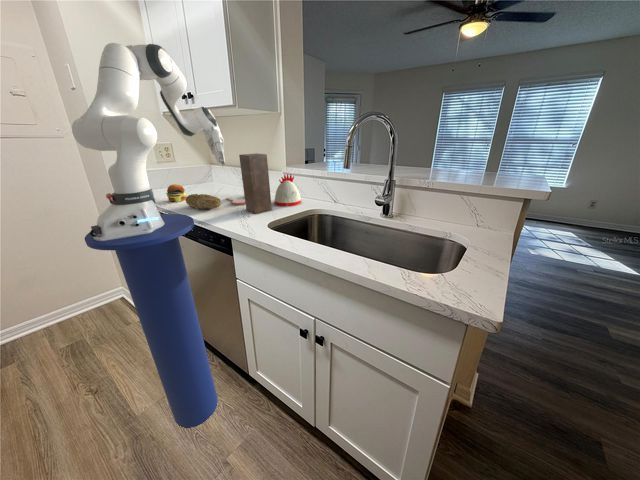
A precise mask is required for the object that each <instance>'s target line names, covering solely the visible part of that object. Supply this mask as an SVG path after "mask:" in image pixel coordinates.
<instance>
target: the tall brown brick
mask: <svg viewBox="0 0 640 480" xmlns="http://www.w3.org/2000/svg"><path fill="white" fill-rule="evenodd" d="M238 157H239V165H240V173H241V181H242V187H243V195H244V199H245V210H246V211H247V212H249V213H252V214H255V215H257V214H261V213H266V212H270V211H273V208H272V207H273V206H272V195H271V186H270V174H269V164H268V163H269V162H268V155H267V154H266V153H257V152H256V153H244V154H239V156H238Z"/></svg>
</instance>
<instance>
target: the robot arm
mask: <svg viewBox="0 0 640 480" xmlns="http://www.w3.org/2000/svg"><path fill="white" fill-rule="evenodd" d="M153 80H155V81H156V82H157V83H158V85H159V87H160V91H159V95H160V98H161V100H162V102H163V104H164V105H165V107H166V109H167V110H168V112H169V113H170V115H171V117H172V118H173V120H174V121H175V123H176V124H177V127H178V129H179V130H180V132H181V133H182V134H183V135H185V136H186V137H193V136H196V134H197V133H199V132H201V131H202V132H203V135H204V138H205V141H206V144H207V146H208V147H209V149H210V151H211V154H212V156H214V158H215V160H216V162H217V164H218V166H221V167H225V166H226V158H225V139H224V136H223V134H222V133H221V129H220V127H219V125H218V121H217V118H216V116H215V115H214V113H213V111H212V110H211V109H210V108H208V109H206V108H207V107H205V106H200V107H198V108H196V109H193V110H192V111H190V112H188V113H186V114H182V113H181V111H180V110H179V108H178V106H177V103H178V102H179V100H180V99H181V98H182V97H183V96H184V95H185V93H186V91H187V86H188V83H187V79H186V77H185V74H184V73H183V72H182V70H181V68H179V66H178V65H177V64H176V62H175V61H174V60H173V58H172V57H171V56H170V54H169V53H168V52H167V50H166V49H165V48H163V47H162V46H161V45H159V44H156V43H148V44H128V45H124V44H121V43H117V42H110V43H107V44H106V45H105V46H104V48H103V50H102V52H101V55H100V59H99V65H98V76H97V84H96V90H95V91H96V92H95V94H94V98H93V99H92V102H91V104H90V105H89V107H88V108H87V109H86V111H85V112H84V113H83V114H82V115H80V117H78V118H77V119H75V120H74V121H73V122H72V125H71V133H72V135H73V138H74V140H75V141H76V142H77V143H78V144H79V145H80V146H81V147H83V148H86V149H90V150H94V151H100V152H116V160H115V162H114V163H113V164H111V165H110V166H109V167H108V170H107V174H108V177H109V181H110V184H111V187H112V190H113V193H111V192H110V193H106V194H105V198H106V200H109V203H110V205H109V206H108V207H107V208H105V210H103V211H102V212H101V213H100V214H99V215H98V216H97V219H96V224H95V225H91V226H90V229H91V230H90V231H89V233H90V235H91V236H92V237H93V239H94V240H96V241H107V240H113V239H118V238H124V237H130V236H136V235H142V234H148V233H151V232H153V231H154V230H156V229H158V228H160V227H162V226H163V225H164V224H165V223H164V221H163V220H162V218H161V216H160V214H161V213H159V210H158V208H157V205H156V197H155V194H154V191H153V189H152V188H151V185H150V181H149V178H148V172H147V159H148V156H149V153H150V152H151V150H152V149H154V147H155V146H156V144H157V142H158V131H157V130H156V128H155V125H153V123H152V122H151V121H150V120H149V119H147V118H146V117H142V116H137V115H131V113H133V112H134V111H136V110H137V108H138V106H139V95H140V81H153ZM204 107H205V108H204Z"/></svg>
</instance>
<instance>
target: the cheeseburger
mask: <svg viewBox="0 0 640 480" xmlns="http://www.w3.org/2000/svg"><path fill="white" fill-rule="evenodd" d="M185 190H186V189H185V188H184V186H183V185H181V184H170V185H169V186H167V189H166V193H165V194H166V197H167V199H168V201H169V202H175V203H180V202H182V201H186V197H187V196H188V194H187V192H186V191H185Z"/></svg>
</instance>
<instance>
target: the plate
mask: <svg viewBox="0 0 640 480" xmlns="http://www.w3.org/2000/svg"><path fill="white" fill-rule="evenodd" d="M226 200H228V201H230V202H231V203H232V205H233V206H246V204H245V198H240V199H239V198H236V197H232V196H228V197H226Z"/></svg>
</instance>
